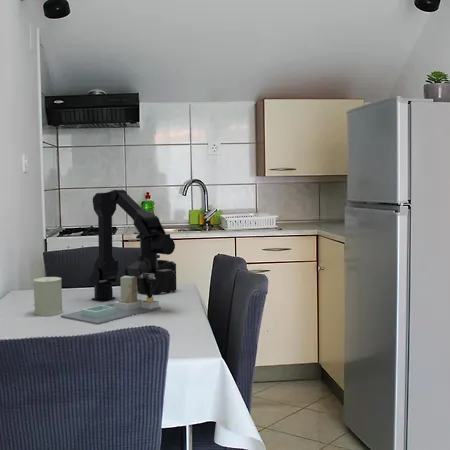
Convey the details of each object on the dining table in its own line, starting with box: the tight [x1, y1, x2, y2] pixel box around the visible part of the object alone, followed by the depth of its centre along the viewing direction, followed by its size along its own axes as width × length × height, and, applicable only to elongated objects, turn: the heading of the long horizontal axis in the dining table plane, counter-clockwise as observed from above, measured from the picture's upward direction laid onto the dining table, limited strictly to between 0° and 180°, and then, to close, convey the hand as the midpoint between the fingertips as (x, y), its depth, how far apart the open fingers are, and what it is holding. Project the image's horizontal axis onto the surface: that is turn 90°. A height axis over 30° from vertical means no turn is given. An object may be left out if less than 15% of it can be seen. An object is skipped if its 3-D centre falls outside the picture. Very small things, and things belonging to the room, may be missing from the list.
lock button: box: [145, 296, 155, 303], centre depth 209 cm, size 2×2×3 cm
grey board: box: [60, 298, 161, 326], centre depth 204 cm, size 18×28×3 cm, turn 143°
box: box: [120, 275, 138, 304], centre depth 210 cm, size 5×4×11 cm
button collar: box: [141, 299, 160, 309], centre depth 209 cm, size 4×4×2 cm
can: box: [32, 276, 64, 317], centre depth 205 cm, size 9×9×12 cm
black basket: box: [137, 259, 177, 296], centre depth 241 cm, size 14×15×12 cm
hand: (149, 297), depth 209 cm, fingers closed, pressing on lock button
